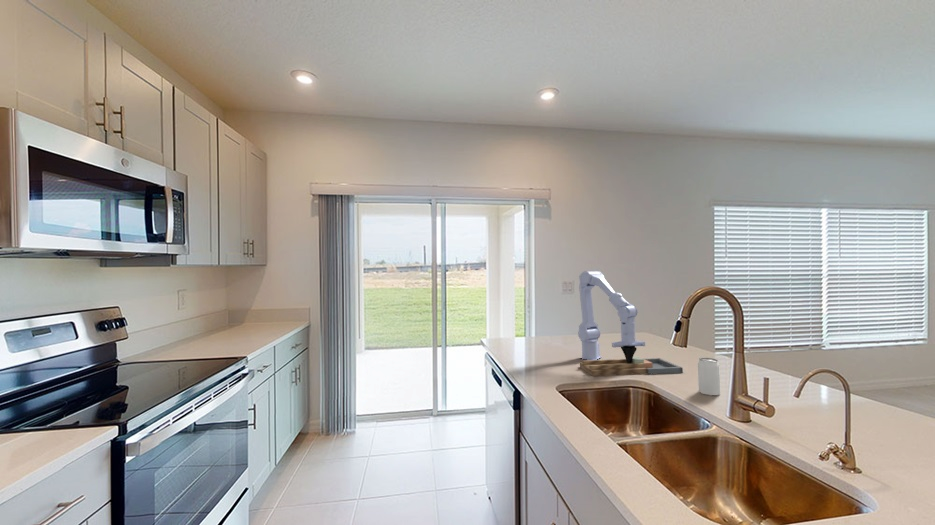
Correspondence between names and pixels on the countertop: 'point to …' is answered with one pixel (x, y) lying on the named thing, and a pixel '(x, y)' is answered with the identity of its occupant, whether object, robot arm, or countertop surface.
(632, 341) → the robot arm
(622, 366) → the brown wooden rack
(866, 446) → the countertop surface
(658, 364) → the tray
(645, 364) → the salmon pink block
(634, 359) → the pale green upright block
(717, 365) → the can
